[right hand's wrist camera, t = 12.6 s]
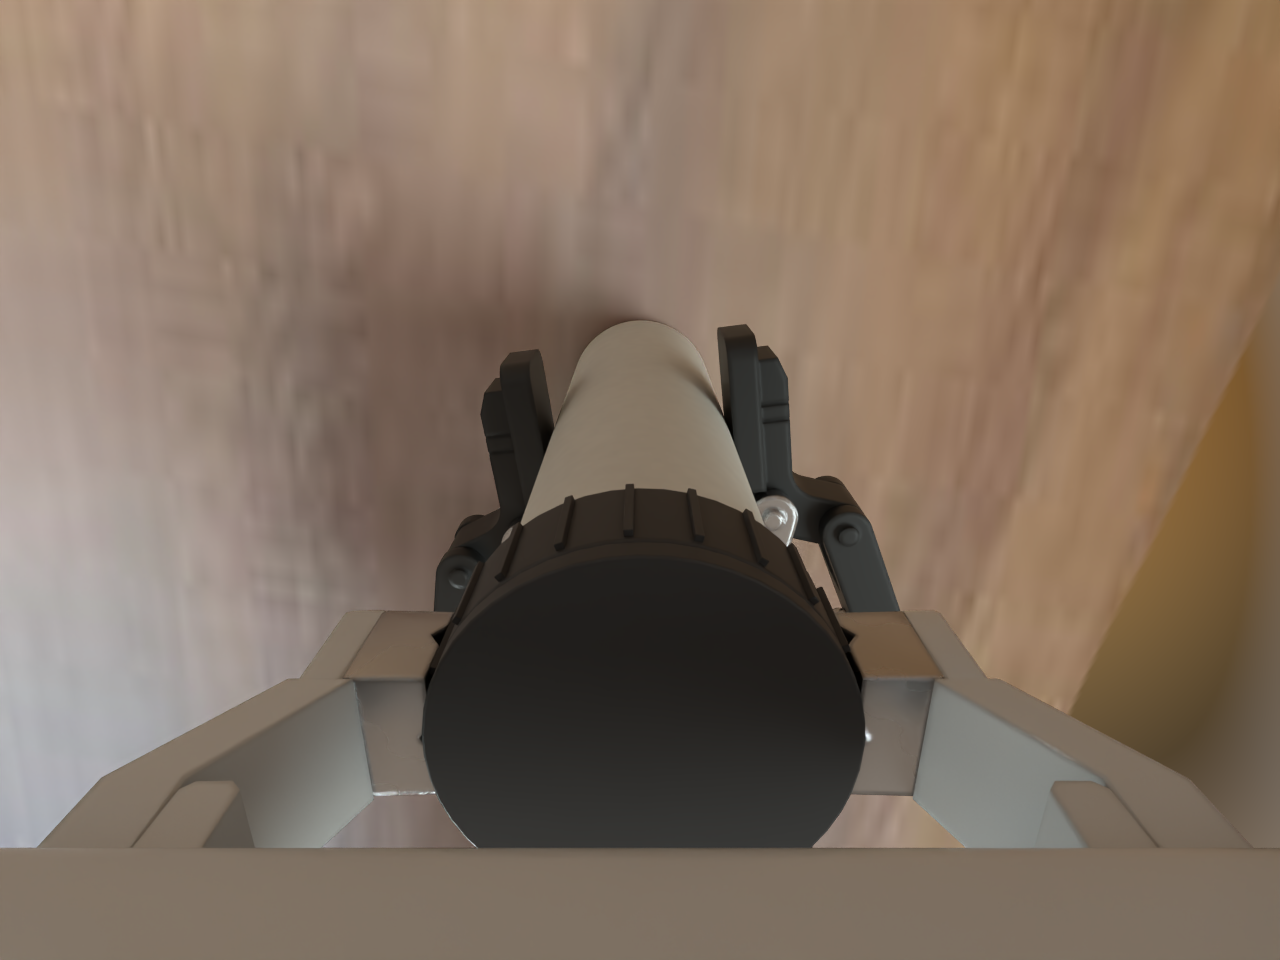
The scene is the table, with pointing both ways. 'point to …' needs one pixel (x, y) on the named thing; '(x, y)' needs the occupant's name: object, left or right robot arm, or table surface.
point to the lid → (643, 685)
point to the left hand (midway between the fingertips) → (626, 347)
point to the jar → (640, 424)
